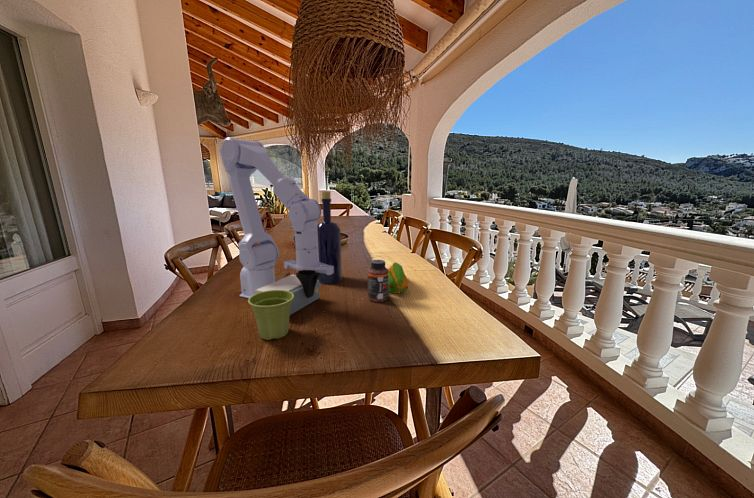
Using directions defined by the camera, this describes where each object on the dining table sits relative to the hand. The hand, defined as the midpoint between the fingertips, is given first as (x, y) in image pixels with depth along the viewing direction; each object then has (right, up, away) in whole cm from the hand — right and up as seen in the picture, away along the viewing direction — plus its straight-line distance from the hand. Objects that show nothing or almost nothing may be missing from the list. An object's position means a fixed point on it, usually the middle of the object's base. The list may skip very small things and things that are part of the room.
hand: (309, 296), depth 79 cm
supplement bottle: (+18, -2, +7) cm, 20 cm away
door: (-2, -3, 0) cm, 3 cm away
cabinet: (-7, -2, +3) cm, 7 cm away
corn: (+24, 0, +17) cm, 29 cm away
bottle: (+1, +2, +22) cm, 23 cm away
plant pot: (-5, -6, -13) cm, 15 cm away
